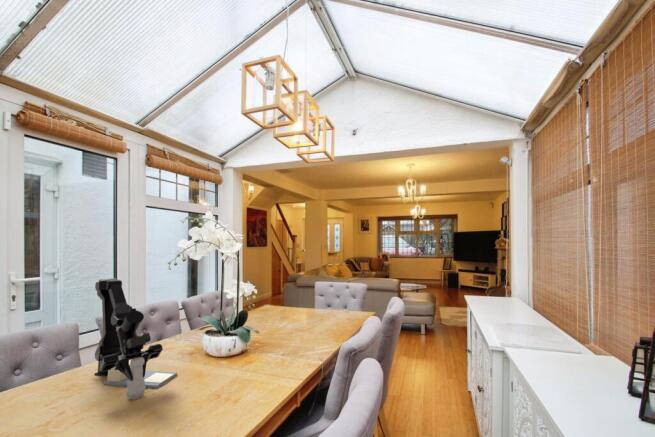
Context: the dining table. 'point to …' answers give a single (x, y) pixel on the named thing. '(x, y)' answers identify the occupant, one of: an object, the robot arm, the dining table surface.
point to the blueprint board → (151, 378)
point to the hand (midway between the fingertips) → (138, 378)
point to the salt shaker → (136, 379)
